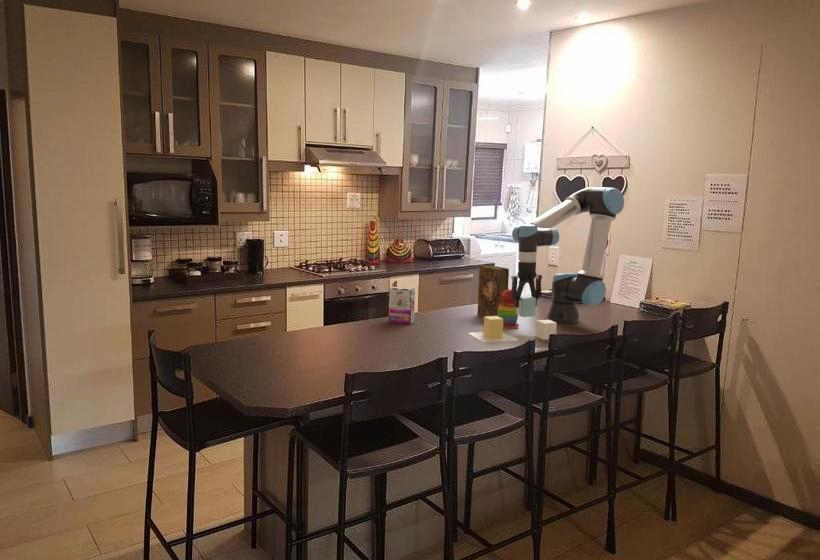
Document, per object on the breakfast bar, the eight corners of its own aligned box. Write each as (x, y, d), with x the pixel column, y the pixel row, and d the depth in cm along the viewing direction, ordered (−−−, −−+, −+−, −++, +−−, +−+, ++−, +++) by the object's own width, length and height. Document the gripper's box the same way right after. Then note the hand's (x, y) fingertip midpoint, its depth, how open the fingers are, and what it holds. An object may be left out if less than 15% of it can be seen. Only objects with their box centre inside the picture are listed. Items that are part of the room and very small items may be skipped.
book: (475, 315, 301) (477, 265, 297) (484, 313, 304) (486, 264, 300) (498, 321, 288) (500, 269, 284) (506, 320, 291) (509, 268, 287)
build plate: (501, 333, 265) (501, 330, 265) (518, 342, 250) (518, 340, 250) (467, 335, 260) (467, 332, 260) (483, 344, 245) (483, 342, 245)
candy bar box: (414, 322, 281) (415, 287, 279) (410, 325, 277) (411, 289, 274) (392, 320, 285) (393, 285, 283) (388, 322, 281) (388, 287, 278)
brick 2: (548, 338, 258) (549, 319, 257) (555, 341, 253) (556, 322, 251) (535, 338, 257) (536, 320, 255) (542, 342, 251) (543, 323, 250)
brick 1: (528, 313, 265) (529, 295, 264) (535, 316, 260) (535, 297, 258) (516, 314, 263) (516, 296, 262) (522, 317, 258) (523, 298, 256)
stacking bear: (518, 331, 268) (520, 292, 265) (495, 330, 270) (497, 290, 267) (519, 326, 279) (521, 288, 276) (497, 324, 281) (498, 287, 278)
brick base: (496, 334, 258) (497, 315, 257) (502, 337, 253) (503, 318, 252) (483, 335, 257) (484, 316, 255) (489, 338, 251) (490, 319, 250)
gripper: (542, 259, 264) (540, 310, 268) (503, 261, 258) (501, 313, 262) (551, 261, 257) (549, 314, 261) (511, 263, 251) (509, 317, 255)
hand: (525, 314), depth 261 cm, fingers closed on brick 1, 6 cm apart
